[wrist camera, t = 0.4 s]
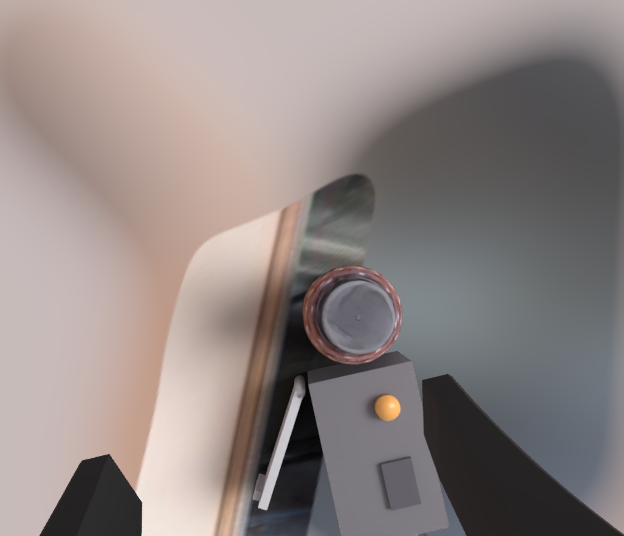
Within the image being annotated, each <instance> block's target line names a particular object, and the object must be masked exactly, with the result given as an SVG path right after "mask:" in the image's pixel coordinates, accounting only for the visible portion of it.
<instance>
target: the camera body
mask: <svg viewBox="0 0 624 536" xmlns="http://www.w3.org/2000/svg"><path fill="white" fill-rule="evenodd" d="M307 372H308V385H309V390H310V395H311V399H312V404H313V409H314V413H315V418H316V422H317V427H318V432H319V436H320V441H321V445H322V450H323V455H324V459H325V464H326V469H327V473H328V478H329V482H330V487H331V492H332V496H333V501H334V505H335V510H336V514H337V519H338V524H339V529H340V533H341V536H427V532H430V531H435V530H439V529H443V528H447V527H449V524H448V519H447V515H446V510H445V506H444V501H443V497H442V492H441V488H440V483H439V479H438V474H437V471H436V468H435V465H434V462H433V460H432V457H431V454H430V451H429V448H428V445H427V443H426V440H425V437H424V429H423V407H422V403H421V399H420V394H419V389H418V385H417V381H416V376H415V372H414V367H413V363H412V361H411V360H410V359H408V358H407V357H405V356H404V355H402V354H401V353H400V352H398V351H395V352H391V353H386V354H383V355H381V356H380V357H378V358H377V359H375V360H373V361H370V362H367V363H363V364H343V363H342V364H337V365H333V366H328V367H324V368H319V369H315V370H310V371H307Z"/></svg>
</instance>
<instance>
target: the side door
mask: <svg viewBox="0 0 624 536" xmlns="http://www.w3.org/2000/svg"><path fill="white" fill-rule="evenodd" d="M304 395H305V378H304V377H303V376H301V375H298V376H296V377H295V380H294V387H293V390H292V394H291V397H290V400H289V403H288V406H287V409H286V412H285V416H284V419H283V422H282V425H281V428H280V431H279V434H278V438H277V441H276V444H275V447H274V450H273V453H272V457H271V460H270V463H269V466H268V469H267V472H266V475H263V474H260V473H259V476H258V479H257V483H256V487H255V491H254V495H253V499H254V500H257V501H259V506H258V508H261V509H264V510H267V508H268V505H269V502H270V499H271V496H272V492H273V489H274V486H275V483H276V480H277V477H278V473H279V470H280V467H281V464H282V461H283V458H284V454H285V451H286V448H287V445H288V442H289V439H290V435H291V432H292V429H293V426H294V423H295V420H296V416H297V413H298V410H299V407H300V404H301V401H302V398H303V397H304Z"/></svg>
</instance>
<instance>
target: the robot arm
mask: <svg viewBox="0 0 624 536" xmlns="http://www.w3.org/2000/svg"><path fill="white" fill-rule="evenodd" d="M422 392H423V429H424V437H425V440H426V443H427V445H428V448H429V451H430V454H431V457H432V460H433V462H434V465H435V468H436V471H437V473H438V476H439V479H440V481H441V483H442V485H443V487H444V489H445V491H446V493H447V496H448V498H449V500H450V502H451V504H452V506H453V508H454V510H455V512H456V515H457V517H458V519H459V521H460V523H461V525H462V527H463V529H464V531H465V533H466V535H467V536H624V534H622V533H621V532H620V531H618V530H617V529H616V528H614V527H613V526H612V525H610V524H609V523H608V522H607V521H605V520H604V519H603V518H601V517H600V516H599V515H598V514H596V513H595V512H594V511H592V510H591V509H590V508H589V507H587V506H586V505H585V504H584V503H582V502H581V501H580V500H579V499H578V498H576V497H575V496H574V495H573V494H572V493H570V492H569V491H568V490H567V489H566V488H564V487H563V486H562V485H561V484H560V483H559V482H558V481H556V480H555V479H554V478H553V477H552V476H551V475H550V474H548V473H547V472H546V471H545V470H544V469H543V468H542V467H540V466H539V465H538V464H537V463H536V462H535V461H534V460H533V459H532V458H531V457H529V456H528V455H527V454H526V453H525V452H524V451H523V450H522V449H521V448H520V447H519V446H518V445H517V444H516V443H515V442H514V441H513V440H512V439H511V438H510V437H508V436H507V435H506V434H505V433H504V432H503V431H502V430H501V429H500V428H499V427H498V426H497V425H496V424H495V423H494V422H493V421H492V420H491V419H490V418H489V416H488V415H487V414H486V413H485V412H484V411H483V410H482V409H481V408H480V407H479V406H478V405H477V404H476V403H475V402H474V401H473V400H472V399H471V397H470V396H469V395H468V394H467V393H466V392H465V391H464V390H463V388H462V387H461V386H460V385H459V384H458V383H457V382H456V380H455V379H454V378H453V377H452V376H450V375H448V374H446V375H442V376H438V377H434V378H429V379H425V380H422ZM141 534H142V502H141V500H140V499H139V497H138V496H137V494H136V493H135V491H134V490H133V488H132V487H131V486H130V484H129V483H128V481H127V480H126V478H125V477H124V475H123V474H122V472H121V471H120V469H119V468H118V466H117V465H116V463H115V462H114V460H113V459H112V457H111V456H110V454H108V455H103V456H99V457H95V458H91V459H86V460H83V461H82V462H81V463H80V464H79V466H78V468H77V470H76V471H75V473H74V475H73V477H72V478H71V480H70V482H69V484H68V486H67V488H66V489H65V492H64V493H63V495H62V497H61V498H60V500H59V502H58V504H57V506H56V507H55V509H54V511H53V513H52V514H51V516H50V518H49V520H48V522H47V523H46V525H45V527H44V529H43V531H42V532H41V534H40V536H141Z"/></svg>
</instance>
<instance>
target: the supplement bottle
mask: <svg viewBox="0 0 624 536" xmlns="http://www.w3.org/2000/svg"><path fill="white" fill-rule="evenodd" d="M302 312H303V320H304V327H305V330H306V333H307V335H308V338H309V339H310V341H311V343H312V344H313V345H314V347H315V348H316V349H317V350H318V351H319V352H320V353H322V354H323V355H324V356H326V357H327V358H329V359H331V360H333V361H336V362H339V363H343V364H363V363H367V362H370V361H373V360H375V359H377V358H378V357H380V356H381V355H383V354H384V353H385V352H387V350H389V348H390V347H391V346H392V345H393V344H394V342H395V340H396V339H397V337H398V334H399V331H400V328H401V323H402V308H401V303H400V299H399V297H398V295H397V293H396V291H395V289H394V287H393V286H392V285H391V284H390V283H389V282H388V281H387V279H385V278H384V277H383V276H382V275H381V274H379V273H377V272H376V271H374V270H372V269H368V268H365V267H361V266H343V267H338V268H335V269H332V270H330V271H329V272H326V273H325V274H323V275H322V276H320V277H319V278H318V279H317V280H315V281H314V282H313V283H312V284H311V286H310V287H309V289H308V290H307V292H306V294H305V296H304V300H303V305H302Z"/></svg>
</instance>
